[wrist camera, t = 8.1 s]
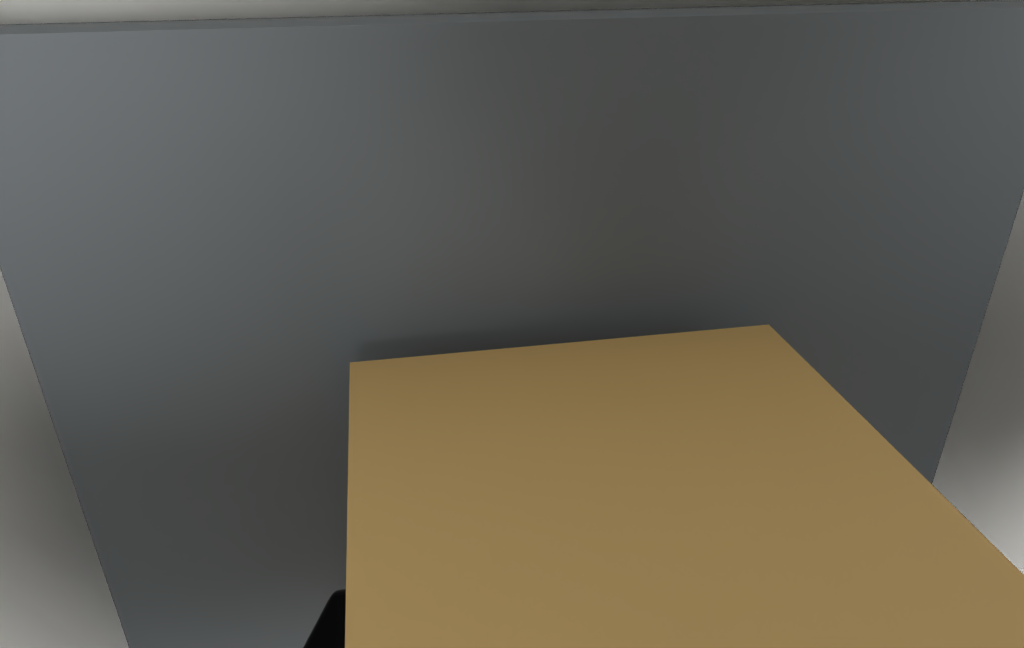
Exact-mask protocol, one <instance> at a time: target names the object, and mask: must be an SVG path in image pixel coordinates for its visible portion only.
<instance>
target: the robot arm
mask: <svg viewBox="0 0 1024 648" xmlns="http://www.w3.org/2000/svg"><path fill="white" fill-rule="evenodd" d="M345 616H346V589H341V590H336V591H335V592H334V593H332V595H331V596H330V598H329V599H328V601H327V603H326V605H325V607H324V609H323V611H322V613H321V615H320V616H319V618H318V620H317V622H316V624H315V626H314V628H313V630H312V632H311V633H310V635H309V637H308V639H307V641H306V643H305V645H304V647H303V648H345Z"/></svg>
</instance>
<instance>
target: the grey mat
mask: <svg viewBox="0 0 1024 648" xmlns="http://www.w3.org/2000/svg"><path fill="white" fill-rule="evenodd" d="M1023 191H1024V0H992V1H951V2H910V3H870V4H829V5H789V6H748V7H707V8H667V9H626V10H586V11H545V12H504V13H464V14H423V15H383V16H342V17H301V18H261V19H220V20H179V21H139V22H98V23H58V24H17V25H0V269H1V271H2V274H3V277H4V280H5V283H6V286H7V289H8V292H9V295H10V298H11V301H12V304H13V307H14V310H15V313H16V316H17V319H18V321H19V324H20V327H21V330H22V333H23V336H24V339H25V342H26V345H27V348H28V351H29V354H30V357H31V360H32V363H33V366H34V369H35V372H36V374H37V377H38V380H39V383H40V386H41V389H42V392H43V395H44V398H45V401H46V404H47V407H48V410H49V413H50V416H51V419H52V422H53V424H54V427H55V430H56V433H57V436H58V439H59V442H60V445H61V448H62V451H63V454H64V457H65V460H66V463H67V466H68V469H69V472H70V475H71V477H72V480H73V483H74V486H75V489H76V492H77V495H78V498H79V501H80V504H81V507H82V510H83V513H84V516H85V519H86V522H87V525H88V527H89V530H90V533H91V536H92V539H93V542H94V545H95V548H96V551H97V554H98V557H99V560H100V563H101V566H102V569H103V572H104V575H105V577H106V580H107V583H108V586H109V589H110V592H111V595H112V598H113V601H114V604H115V607H116V610H117V613H118V616H119V619H120V622H121V625H122V628H123V630H124V633H125V636H126V639H127V642H128V645H129V648H303V647H304V645H305V643H306V641H307V639H308V637H309V635H310V633H311V632H312V630H313V628H314V626H315V624H316V622H317V620H318V618H319V616H320V615H321V613H322V611H323V609H324V607H325V605H326V603H327V601H328V599H329V598H330V596H331V595H332V593H334V592H335V591H336V590H341V589H346V557H347V499H348V441H349V383H350V362H360V361H371V360H382V359H393V358H404V357H415V356H427V355H438V354H449V353H460V352H471V351H482V350H493V349H504V348H515V347H526V346H537V345H548V344H559V343H570V342H581V341H592V340H603V339H614V338H625V337H636V336H647V335H658V334H669V333H680V332H691V331H702V330H713V329H724V328H735V327H746V326H757V325H768V324H769V325H770V326H771V327H772V328H773V329H774V330H775V331H776V332H777V333H778V334H779V335H780V336H781V337H782V338H783V339H784V340H785V341H786V342H787V343H788V344H789V345H790V346H791V347H792V348H793V349H794V350H795V351H796V352H797V353H798V354H799V355H800V356H801V357H802V358H803V359H804V360H805V361H806V362H808V363H809V364H810V365H811V366H812V367H813V368H814V369H815V370H816V371H817V372H818V373H819V374H820V375H821V376H822V377H823V378H824V379H825V380H826V381H827V382H828V383H829V384H830V385H831V386H832V387H833V388H834V389H835V390H836V391H837V392H838V393H839V394H840V395H841V396H842V397H843V398H844V399H845V400H846V401H847V402H848V403H849V404H850V405H851V406H852V407H853V408H854V409H855V410H856V411H857V412H858V413H859V414H860V415H861V416H862V417H863V418H865V419H866V420H867V421H868V422H869V423H870V424H871V425H872V426H873V427H874V428H875V429H876V430H877V431H878V432H879V433H880V434H881V435H882V436H883V437H884V438H885V439H886V440H887V441H888V442H889V443H890V444H891V445H892V446H893V447H894V448H895V449H896V450H897V451H898V452H899V453H900V454H901V455H902V456H903V457H904V458H905V459H906V460H907V461H908V462H909V463H910V464H911V465H912V466H913V467H914V468H915V469H916V470H917V471H918V472H919V473H920V474H922V475H923V476H924V477H925V478H926V479H927V480H928V481H929V482H930V483H931V484H932V482H933V479H934V476H935V472H936V469H937V466H938V463H939V460H940V456H941V453H942V450H943V447H944V444H945V440H946V437H947V434H948V431H949V428H950V424H951V421H952V418H953V415H954V412H955V408H956V405H957V402H958V399H959V396H960V392H961V389H962V386H963V383H964V380H965V376H966V373H967V370H968V367H969V364H970V360H971V357H972V354H973V351H974V348H975V344H976V341H977V338H978V335H979V332H980V328H981V325H982V322H983V319H984V316H985V312H986V309H987V306H988V303H989V300H990V296H991V293H992V290H993V287H994V284H995V280H996V277H997V274H998V271H999V268H1000V264H1001V261H1002V258H1003V255H1004V252H1005V248H1006V245H1007V242H1008V239H1009V236H1010V232H1011V229H1012V226H1013V223H1014V220H1015V216H1016V213H1017V210H1018V207H1019V204H1020V200H1021V197H1022V194H1023Z"/></svg>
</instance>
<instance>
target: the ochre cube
mask: <svg viewBox="0 0 1024 648" xmlns="http://www.w3.org/2000/svg"><path fill="white" fill-rule="evenodd" d="M345 648H1024V575H1023V574H1022V573H1021V572H1020V571H1019V570H1018V569H1017V568H1016V567H1015V566H1014V565H1013V564H1012V563H1011V562H1010V561H1009V560H1008V559H1007V558H1006V557H1005V556H1004V555H1003V554H1002V553H1001V552H1000V551H999V550H998V549H997V548H996V547H995V546H994V545H993V544H992V543H991V542H990V541H989V540H988V539H987V538H986V537H985V536H984V535H983V534H982V533H981V532H980V531H979V530H977V529H976V528H975V527H974V526H973V525H972V524H971V523H970V522H969V521H968V520H967V519H966V518H965V517H964V516H963V515H962V514H961V513H960V512H959V511H958V510H957V509H956V508H955V507H954V506H953V505H952V504H951V503H950V502H949V501H948V500H947V499H946V498H945V497H944V496H943V495H942V494H941V493H940V492H939V491H938V490H937V489H936V488H935V487H934V486H933V485H932V484H931V483H930V482H929V481H928V480H927V479H926V478H925V477H924V476H923V475H922V474H920V473H919V472H918V471H917V470H916V469H915V468H914V467H913V466H912V465H911V464H910V463H909V462H908V461H907V460H906V459H905V458H904V457H903V456H902V455H901V454H900V453H899V452H898V451H897V450H896V449H895V448H894V447H893V446H892V445H891V444H890V443H889V442H888V441H887V440H886V439H885V438H884V437H883V436H882V435H881V434H880V433H879V432H878V431H877V430H876V429H875V428H874V427H873V426H872V425H871V424H870V423H869V422H868V421H867V420H866V419H865V418H863V417H862V416H861V415H860V414H859V413H858V412H857V411H856V410H855V409H854V408H853V407H852V406H851V405H850V404H849V403H848V402H847V401H846V400H845V399H844V398H843V397H842V396H841V395H840V394H839V393H838V392H837V391H836V390H835V389H834V388H833V387H832V386H831V385H830V384H829V383H828V382H827V381H826V380H825V379H824V378H823V377H822V376H821V375H820V374H819V373H818V372H817V371H816V370H815V369H814V368H813V367H812V366H811V365H810V364H809V363H808V362H806V361H805V360H804V359H803V358H802V357H801V356H800V355H799V354H798V353H797V352H796V351H795V350H794V349H793V348H792V347H791V346H790V345H789V344H788V343H787V342H786V341H785V340H784V339H783V338H782V337H781V336H780V335H779V334H778V333H777V332H776V331H775V330H774V329H773V328H772V327H771V326H770V325H769V324H768V325H757V326H746V327H735V328H724V329H713V330H702V331H691V332H680V333H669V334H658V335H647V336H636V337H625V338H614V339H603V340H592V341H581V342H570V343H559V344H548V345H537V346H526V347H515V348H504V349H493V350H482V351H471V352H460V353H449V354H438V355H427V356H415V357H404V358H393V359H382V360H371V361H360V362H350V383H349V441H348V499H347V557H346V616H345Z"/></svg>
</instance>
